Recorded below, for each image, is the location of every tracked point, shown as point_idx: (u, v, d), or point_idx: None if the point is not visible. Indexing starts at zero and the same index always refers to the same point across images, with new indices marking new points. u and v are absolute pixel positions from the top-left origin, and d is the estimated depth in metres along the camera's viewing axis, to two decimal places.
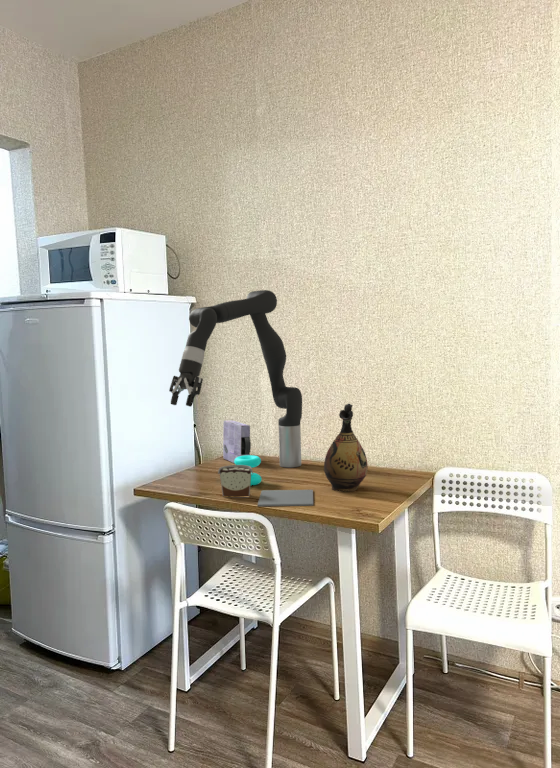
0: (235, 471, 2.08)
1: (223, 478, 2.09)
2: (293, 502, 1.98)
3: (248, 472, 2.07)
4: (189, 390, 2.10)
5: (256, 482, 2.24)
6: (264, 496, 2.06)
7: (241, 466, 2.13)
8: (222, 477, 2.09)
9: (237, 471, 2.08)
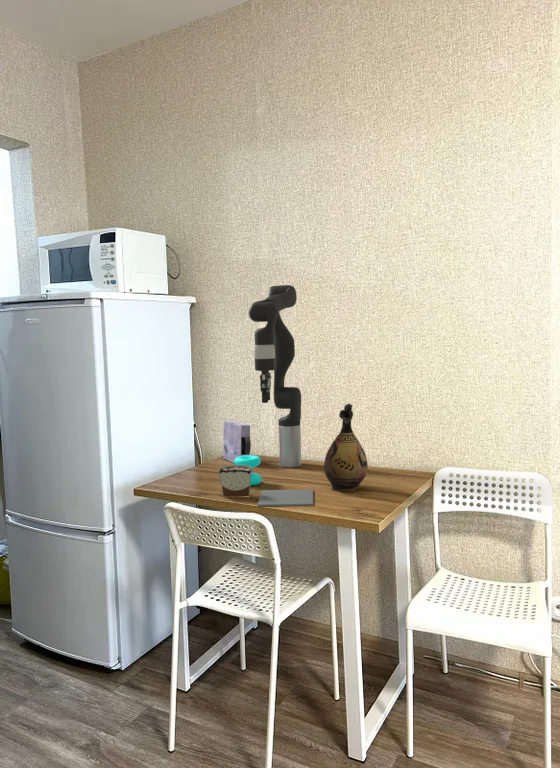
0: (235, 471, 2.08)
1: (223, 478, 2.09)
2: (293, 502, 1.98)
3: (248, 472, 2.07)
4: (261, 388, 2.18)
5: (256, 482, 2.24)
6: (264, 496, 2.06)
7: (241, 466, 2.13)
8: (222, 477, 2.09)
9: (237, 471, 2.08)
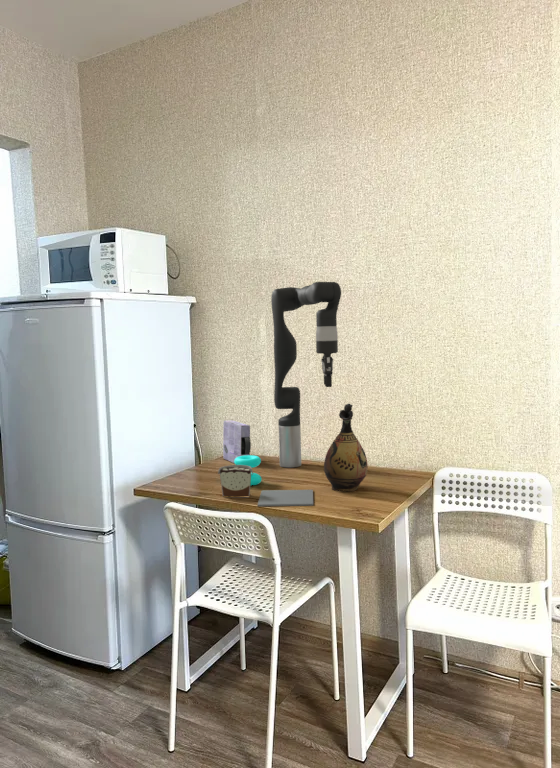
0: (235, 471, 2.08)
1: (223, 478, 2.09)
2: (293, 502, 1.98)
3: (248, 472, 2.07)
4: (324, 371, 2.09)
5: (256, 482, 2.24)
6: (264, 496, 2.06)
7: (241, 466, 2.13)
8: (222, 477, 2.09)
9: (237, 471, 2.08)
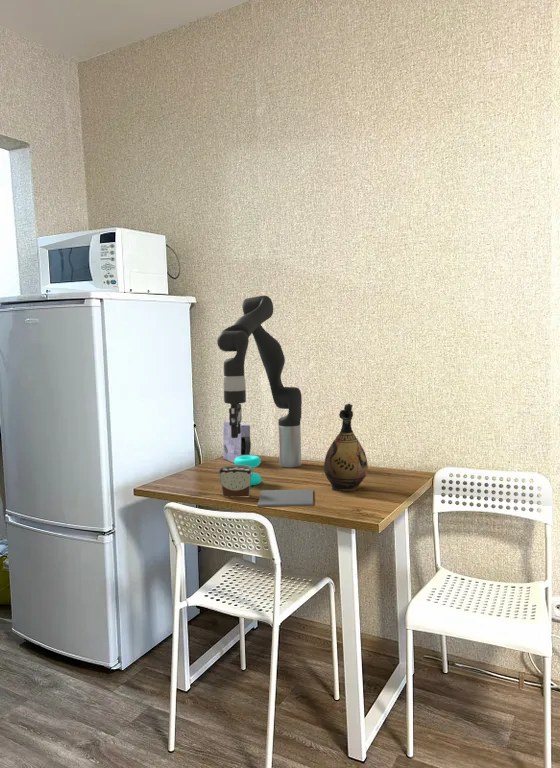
0: (235, 471, 2.08)
1: (223, 478, 2.09)
2: (293, 502, 1.98)
3: (248, 472, 2.07)
4: (230, 422, 2.05)
5: (256, 482, 2.24)
6: (264, 496, 2.06)
7: (241, 466, 2.13)
8: (222, 477, 2.09)
9: (237, 471, 2.08)
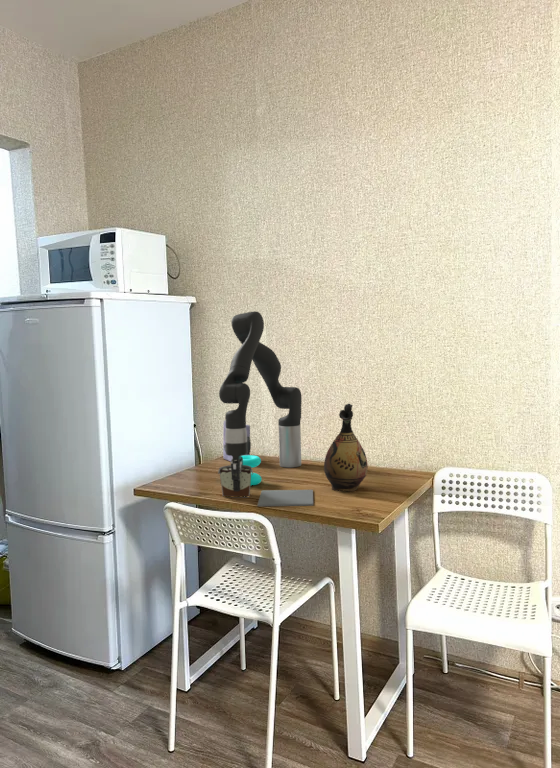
0: None
1: (223, 478, 2.09)
2: (293, 502, 1.98)
3: (248, 472, 2.07)
4: (232, 475, 2.07)
5: (256, 482, 2.24)
6: (264, 496, 2.06)
7: None
8: (222, 477, 2.09)
9: None
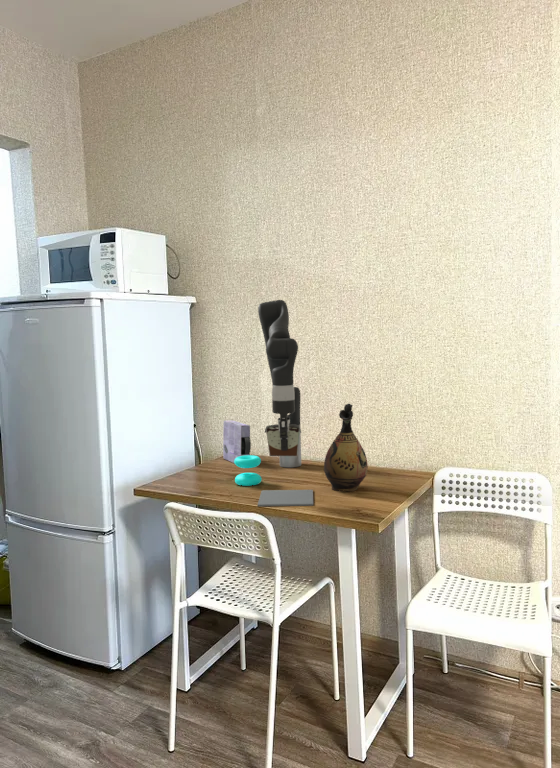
0: None
1: (270, 437, 2.02)
2: (293, 502, 1.98)
3: (296, 430, 2.00)
4: (280, 434, 2.00)
5: (256, 482, 2.24)
6: (264, 496, 2.06)
7: None
8: (269, 436, 2.02)
9: None
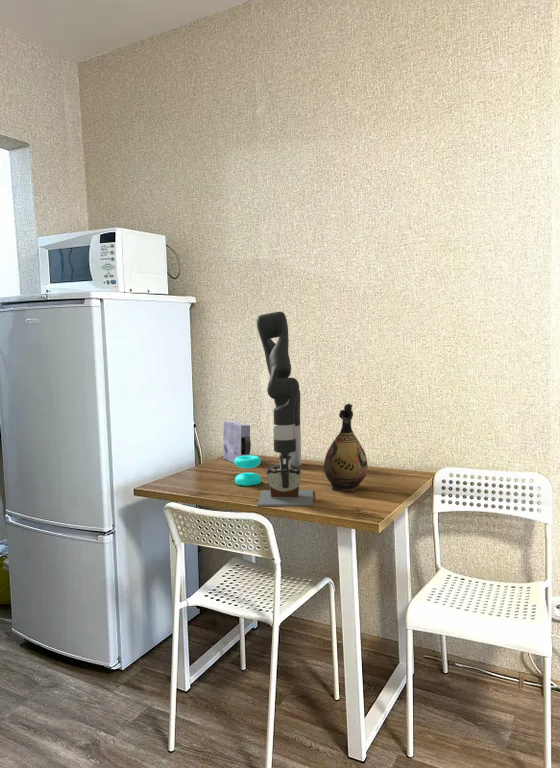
0: (283, 472, 2.02)
1: (271, 479, 2.03)
2: (293, 502, 1.98)
3: (297, 473, 2.01)
4: None
5: (256, 482, 2.24)
6: (264, 496, 2.06)
7: None
8: (270, 478, 2.03)
9: (285, 472, 2.02)
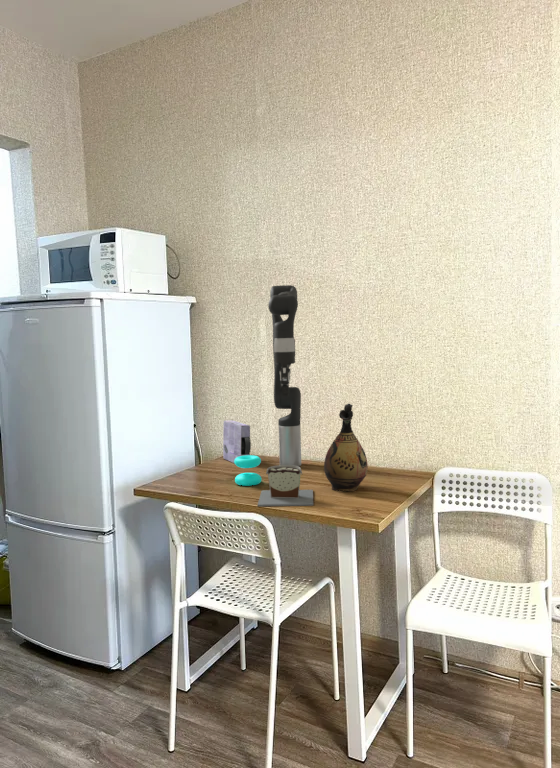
0: (284, 471, 2.03)
1: (271, 479, 2.04)
2: (293, 502, 1.98)
3: (297, 472, 2.02)
4: None
5: (256, 482, 2.24)
6: (264, 496, 2.06)
7: (289, 466, 2.07)
8: (270, 477, 2.04)
9: (286, 471, 2.02)
